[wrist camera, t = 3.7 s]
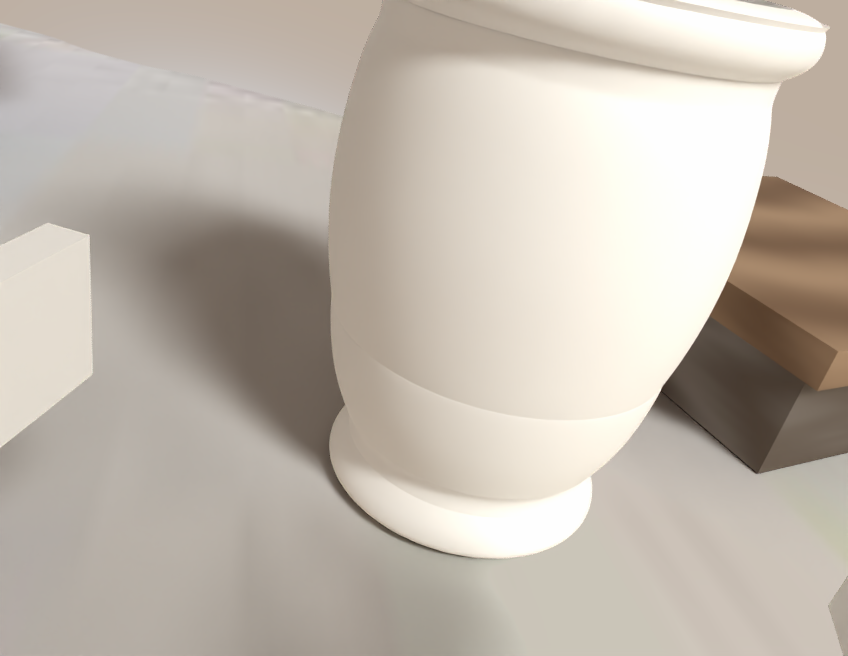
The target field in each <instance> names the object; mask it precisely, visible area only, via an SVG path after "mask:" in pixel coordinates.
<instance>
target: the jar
mask: <svg viewBox="0 0 848 656" xmlns="http://www.w3.org/2000/svg"><path fill="white" fill-rule="evenodd" d="M829 28H830V27H829V26H827V25H825V24H822V23H819V22H818V21H817V20H815V19H814V18H812V17H810V16H808V15H806V14H804V13H802V12H799V11H797V10H794V9H792V8H789V7H786V6H782V5H779V4H775V3H772V2H768V1H764V0H382V6H381V11H380V14H379V16H378V18H377V20H376V22H375V24H374V26H373V28H372V31H371V33H370V35H369V37H368V39H367V42H366V44H365V47H364V49H363V52H362V55H361V57H360V60H359V63H358V66H357V69H356V72H355V76H354V79H353V82H352V86H351V89H350V92H349V96H348V100H347V103H346V108H345V111H344V115H343V120H342V124H341V128H340V133H339V138H338V143H337V148H336V154H335V160H334V166H333V173H332V181H331V191H330V203H329V225H328V249H329V272H330V284H331V293H332V296H331V343H332V353H333V361H334V367H335V372H336V376H337V380H338V384H339V387H340V391H341V394H342V397H343V400H344V403H345V405H344V407H343V408H342V409H341V411H340V412H339V414H338V415H337V417H336V419H335V421H334V424H333V426H332V429H331V433H330V439H329V451H330V458H331V462H332V466H333V468H334V471H335V473H336V476H337V478H338V479H339V481H340V483H341V484H342V486H343V487H344V489H345V490H346V492H347V493H348V494H349V496H350V497H351V498H352V499H353V500H354V501H355V502H356V503H357V504H358V505H359V506H360V507H361V508H362V509H363V510H364V511H365V512H366V513H367V514H368V515H370V516H371V517H372V518H374V519H375V520H376V521H378V522H379V523H381V524H382V525H384V526H385V527H387V528H388V529H390V530H392V531H393V532H395V533H397V534H399V535H401V536H403V537H405V538H407V539H409V540H411V541H414V542H416V543H418V544H421V545H424V546H427V547H430V548H433V549H436V550H439V551H442V552H446V553H450V554H455V555H461V556H467V557H473V558H490V559H505V558H514V557H521V556H527V555H532V554H535V553H538V552H541V551H544V550H547V549H550V548H552V547H554V546H556V545H557V544H559V543H561V542H562V541H564V540H566V539H567V538H568V537H570V536H571V535H572V534H573V533H574V532H575V531H576V530H577V529H578V528H579V526H580V525H581V524H582V522H583V521H584V519H585V517H586V515H587V513H588V510H589V507H590V503H591V498H592V480H591V475H592V474H594V473H595V472H596V471H597V470H599V469H600V468H601V467H602V466H603V465H604V464H606V463H607V462H608V461H609V460H610V459H611V458H612V457H613V456H614V455H615V454H616V453H617V452H618V451H619V450H620V449H621V448H622V447H623V446H624V444H625V443H626V442H627V441H628V440H629V438H630V437H631V436H632V435H633V433H634V432H635V431H636V429H637V428H638V426H639V425H640V424H641V422H642V421H643V419H644V418H645V416H646V415H647V413H648V412H649V410H650V408H651V407H652V405H653V403H654V402H655V400H656V398H657V397H658V395H659V393H660V391H661V389H662V387H663V385H664V384H665V382H666V381H667V380H668V379H669V377H670V376H671V375H672V373H673V372H674V371H675V369H676V368H677V366H678V365H679V364H680V362H681V361H682V359H683V358H684V356H685V355H686V353H687V352H688V350H689V349H690V347H691V346H692V344H693V343H694V341H695V339H696V338H697V336H698V335H699V333H700V331H701V330H702V328H703V326H704V324H705V323H706V321H707V319H708V317H709V316H710V314H711V312H712V310H713V308H714V306H715V304H716V302H717V300H718V298H719V296H720V294H721V292H722V290H723V288H724V286H725V284H726V282H727V279H728V277H729V275H730V273H731V270H732V268H733V265H734V263H735V260H736V258H737V255H738V253H739V250H740V247H741V245H742V242H743V239H744V236H745V233H746V230H747V227H748V224H749V221H750V218H751V215H752V211H753V208H754V205H755V201H756V198H757V194H758V190H759V186H760V183H761V179H762V174H763V170H764V166H765V161H766V156H767V150H768V144H769V137H770V128H771V114H772V113H771V111H772V104H773V101H774V98H775V96H776V93H777V91H778V89H779V87H780V85H781V83H782V81H784V80H787V79H790V78H793V77H796V76H798V75H800V74H802V73H804V72H806V71H807V70H809V69H810V68H812V67H813V66H814V65H815V64H816V63H817V61H818V60H819V58H820V57H821V55H822V53H823V50H824V48H825V42H826V34H825V32H826V31H827V30H828V29H829Z"/></svg>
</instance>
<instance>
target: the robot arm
mask: <svg viewBox="0 0 848 656" xmlns="http://www.w3.org/2000/svg"><path fill="white" fill-rule="evenodd" d="M92 374H93V360H92V316H91V272H90V235H88V234H85V233H81V232H78V231H74V230H71V229H68V228H64V227H61V226H57V225H54V224H50V223H46V224H44V225H42V226H40V227H38V228H36V229H34V230H31V231H29V232H27V233H25V234H23V235H21V236H19V237H17V238H14V239H12V240H10V241H8V242H6V243H4V244H2V245H0V448H1V447H2V446H3V445H4V444H6V443H7V442H8V441H9V440H11V439H12V438H13V437H14V436H16V435H17V434H18V433H19V432H21V431H22V430H23V429H24V428H26V427H27V426H28V425H30V424H31V423H32V422H33V421H35V420H36V419H37V418H38V417H40V416H41V415H42V414H43V413H45V412H46V411H47V410H48V409H50V408H51V407H52V406H53V405H55V404H56V403H57V402H58V401H60V400H61V399H62V398H63V397H65V396H66V395H67V394H69V393H70V392H71V391H72V390H74V389H75V388H76V387H77V386H79V385H80V384H81V383H82V382H84V381H85V380H86V379H87V378H89V377H90V376H91V375H92ZM828 607H829V610H830V613H831V617H832V620H833V623H834V626H835V630H836V633H837V636H838V639H839V643H840V646H841V649H842V653H843V656H848V576H847V578H846V579H845V581H844V582H843V584H842V585H841V587H840V588H839V590H838V591H837V593H836V595H835V596H834V598H833V599H832V601H831V602H830V604H829V605H828Z"/></svg>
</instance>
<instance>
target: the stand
mask: <svg viewBox="0 0 848 656" xmlns="http://www.w3.org/2000/svg"><path fill="white" fill-rule="evenodd" d="M661 391H662V392H663V393H664V394H665V395H666V396H668V397H669V398H670V399H671V400H672V401H673V402H675V403H676V404H677V405H678V406H679V407H680V408H682V409H683V410H684V411H685V412H686V413H687V414H689V415H690V416H691V417H692V418H693V419H694V420H696V421H697V422H698V423H699V424H700V425H701V426H703V427H704V428H705V429H706V430H707V431H708V432H710V433H711V434H712V435H713V436H714V437H715V438H717V439H718V440H719V441H720V442H721V443H722V444H724V445H725V446H726V447H727V448H728V449H729V450H731V451H732V452H733V453H734V454H735V455H736V456H738V457H739V458H740V459H741V460H742V461H743V462H745V463H746V464H747V465H748V466H749V467H750V468H751V469H753V470H754V471H755V472H756V473H757V474H759V473H763V472H767V471H771V470H776V469H780V468H784V467H788V466H793V465H797V464H801V463H805V462H810V461H814V460H818V459H823V458H827V457H831V456H835V455H840V454H844V453H848V210H847V209H845V208H843V207H840V206H838V205H836V204H834V203H831V202H830V201H827V200H825V199H823V198H821V197H819V196H817V195H815V194H813V193H810V192H808V191H806V190H804V189H802V188H800V187H797V186H795V185H793V184H791V183H789V182H787V181H784V180H782V179H780V178H778V177H767V176H762V179H761V183H760V186H759V190H758V194H757V198H756V201H755V205H754V208H753V211H752V215H751V218H750V221H749V224H748V227H747V230H746V233H745V236H744V239H743V242H742V245H741V247H740V250H739V253H738V255H737V258H736V260H735V263H734V265H733V268H732V270H731V273H730V275H729V277H728V279H727V282H726V284H725V286H724V288H723V290H722V292H721V294H720V296H719V298H718V300H717V302H716V304H715V306H714V308H713V310H712V312H711V314H710V316H709V317H708V319H707V321H706V323H705V324H704V326H703V328H702V330H701V331H700V333H699V335H698V336H697V338H696V339H695V341H694V343H693V344H692V346H691V347H690V349H689V350H688V352H687V353H686V355H685V356H684V358H683V359H682V361H681V362H680V364H679V365H678V366H677V368H676V369H675V371H674V372H673V373H672V375H671V376H670V377H669V379H668V380H667V381H666V382H665V384H664V385H663V387H662V389H661Z"/></svg>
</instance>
